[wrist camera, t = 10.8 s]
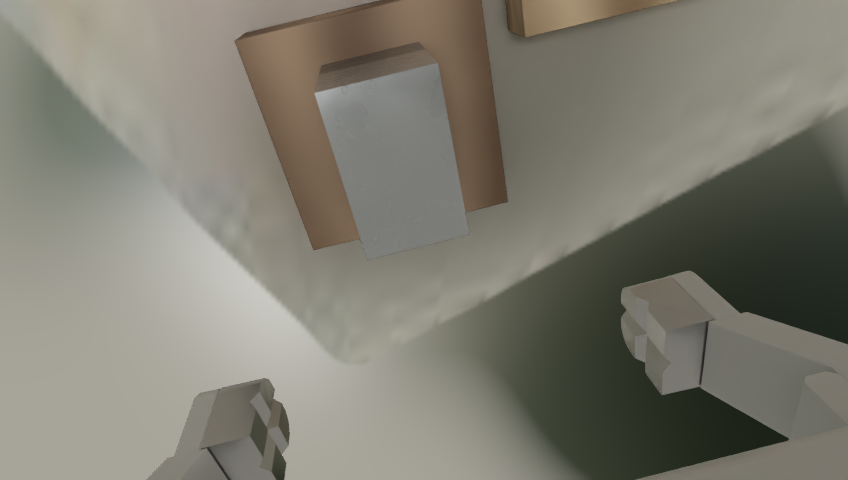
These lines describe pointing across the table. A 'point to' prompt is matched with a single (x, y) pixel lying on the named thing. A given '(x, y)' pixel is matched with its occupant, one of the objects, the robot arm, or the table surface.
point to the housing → (393, 148)
